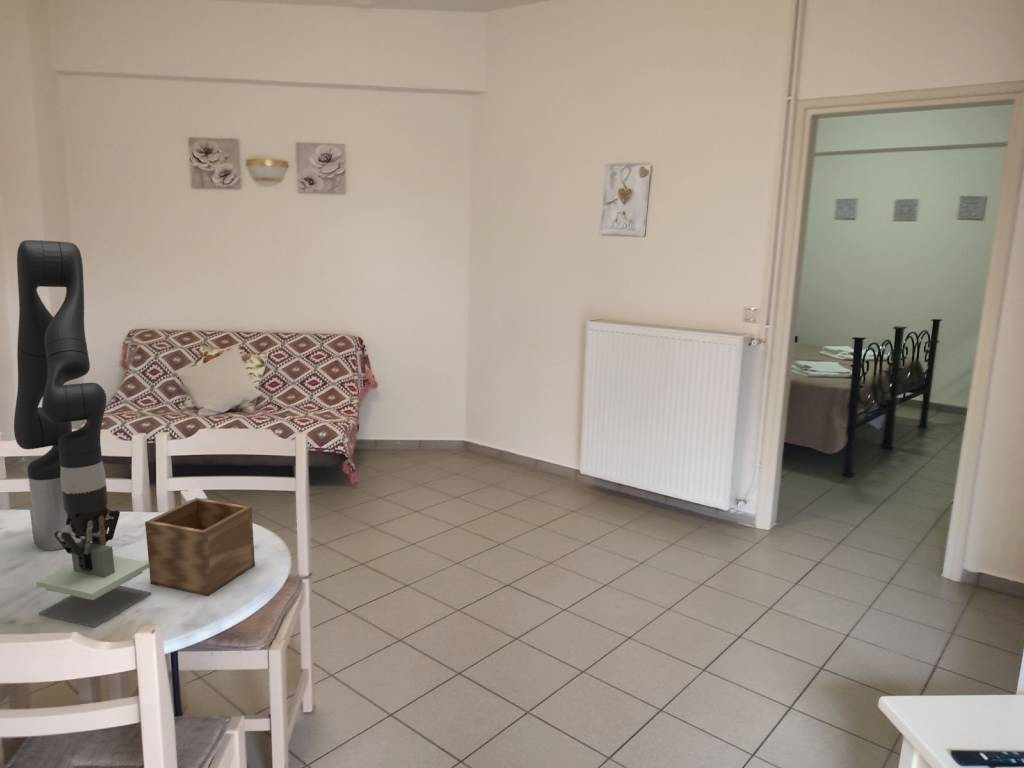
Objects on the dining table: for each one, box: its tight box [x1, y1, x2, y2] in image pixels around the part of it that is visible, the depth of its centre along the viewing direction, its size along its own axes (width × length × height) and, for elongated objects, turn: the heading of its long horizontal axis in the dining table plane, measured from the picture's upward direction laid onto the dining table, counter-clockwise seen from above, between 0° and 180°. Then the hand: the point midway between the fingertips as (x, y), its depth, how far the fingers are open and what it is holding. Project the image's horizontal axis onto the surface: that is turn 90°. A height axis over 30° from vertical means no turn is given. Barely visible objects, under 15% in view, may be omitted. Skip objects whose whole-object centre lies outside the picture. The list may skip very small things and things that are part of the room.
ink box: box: [180, 487, 209, 505], centre depth 179 cm, size 9×5×12 cm, turn 33°
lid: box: [35, 542, 150, 600], centre depth 148 cm, size 14×14×8 cm
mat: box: [38, 585, 152, 629], centre depth 150 cm, size 14×14×1 cm
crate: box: [144, 498, 256, 597], centre depth 162 cm, size 15×15×14 cm
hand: (93, 566), depth 148 cm, fingers closed on lid, 2 cm apart
